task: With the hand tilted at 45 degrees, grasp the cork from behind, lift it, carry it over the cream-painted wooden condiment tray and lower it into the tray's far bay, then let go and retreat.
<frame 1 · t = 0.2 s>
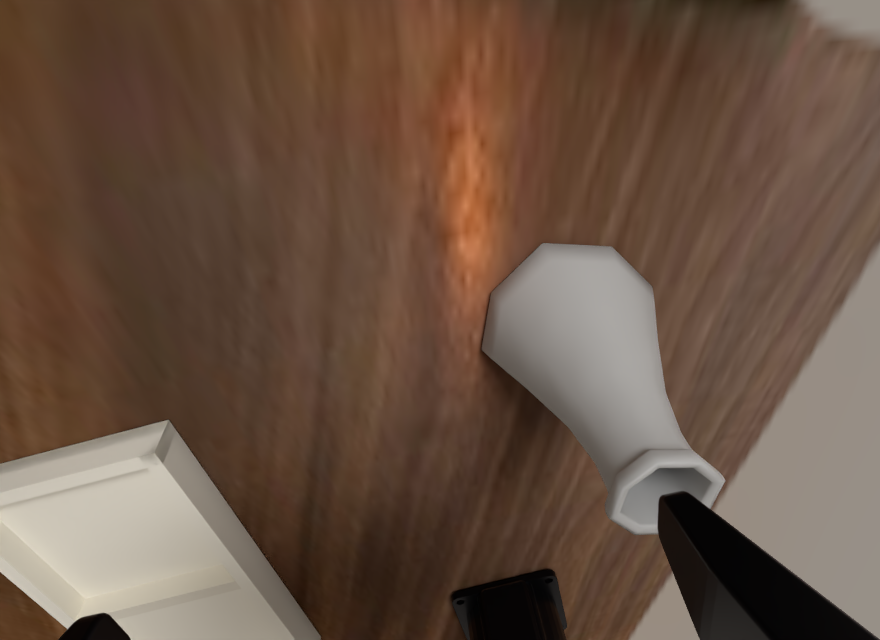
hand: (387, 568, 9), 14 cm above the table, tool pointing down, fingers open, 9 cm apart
condiment tray: (123, 516, 28), on the table
flask: (562, 312, 24), on the table
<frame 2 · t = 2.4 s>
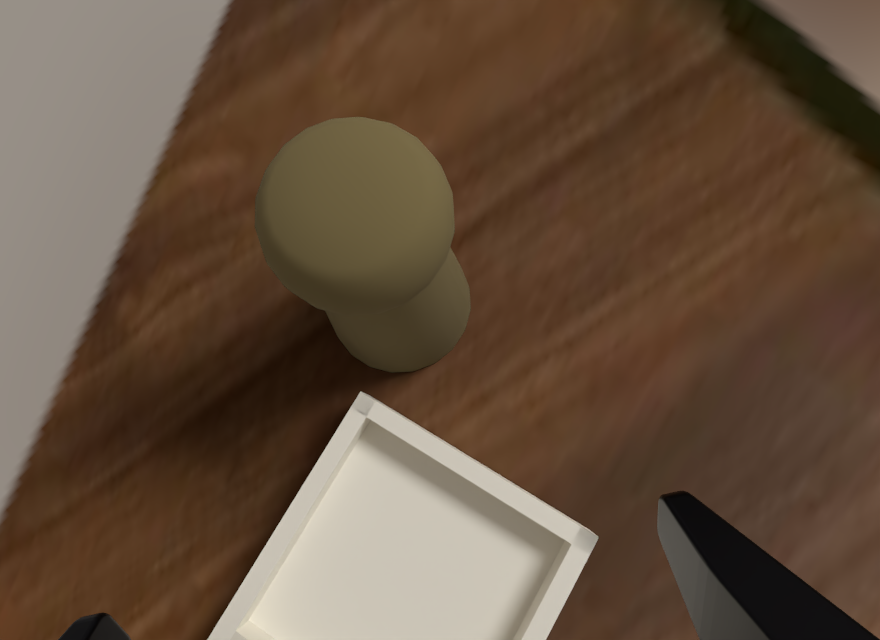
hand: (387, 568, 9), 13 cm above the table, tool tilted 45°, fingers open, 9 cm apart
condiment tray: (409, 574, 22), on the table
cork: (400, 303, 24), on the table
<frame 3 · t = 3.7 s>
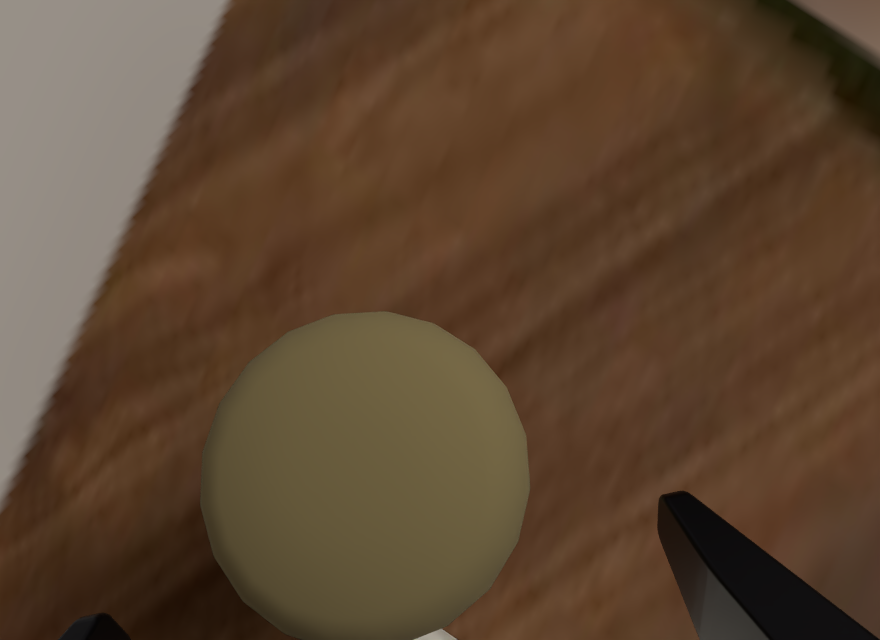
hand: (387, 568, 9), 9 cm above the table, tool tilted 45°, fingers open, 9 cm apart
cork: (420, 457, 18), on the table
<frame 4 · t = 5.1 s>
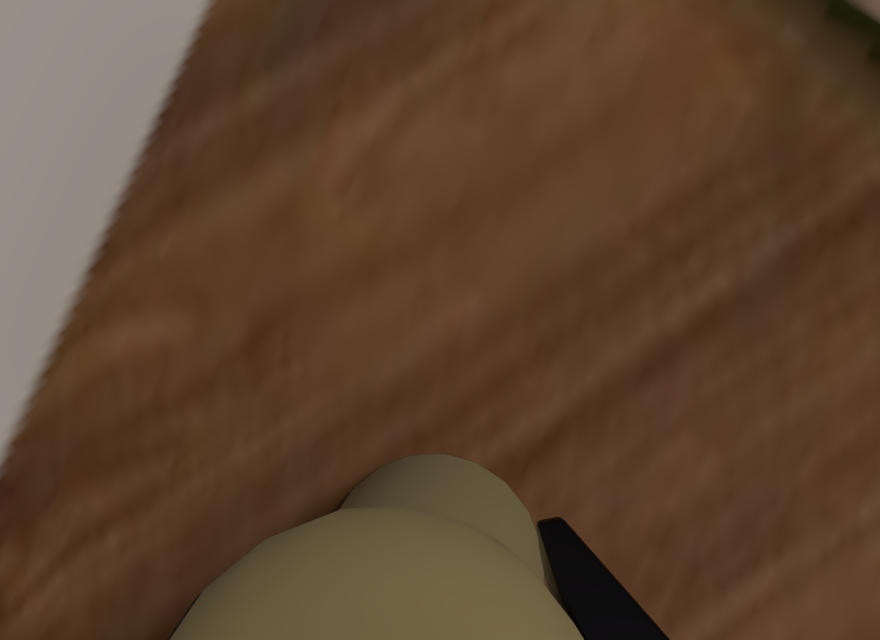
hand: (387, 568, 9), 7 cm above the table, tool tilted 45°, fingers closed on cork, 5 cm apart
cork: (432, 566, 15), on the table, touching gripper
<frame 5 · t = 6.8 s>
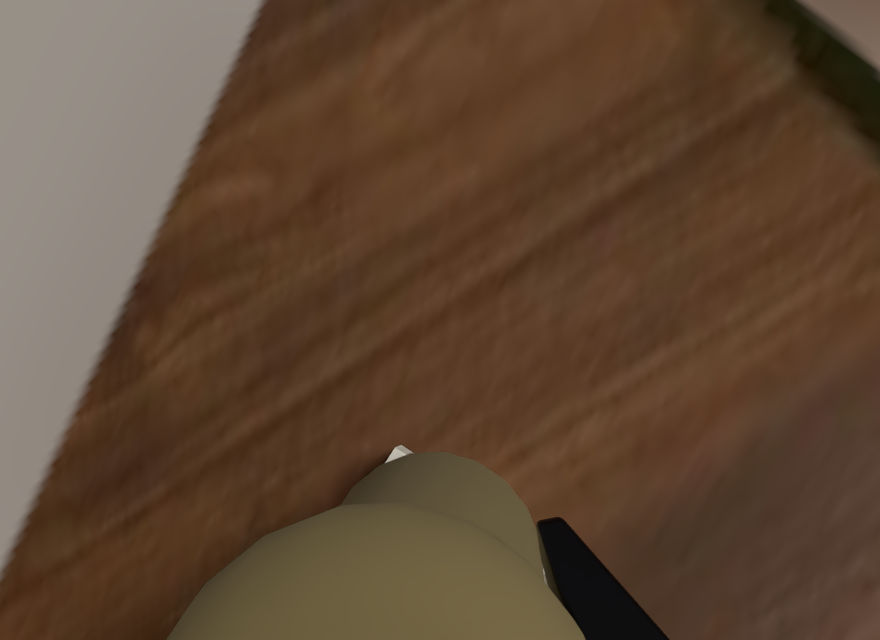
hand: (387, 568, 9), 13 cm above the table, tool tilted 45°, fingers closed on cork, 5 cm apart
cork: (432, 564, 15), point 6 cm above the table, touching gripper
when the fingers open (9 cm above the table, at t = 8.6 s): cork drops 1 cm, resting on condiment tray.
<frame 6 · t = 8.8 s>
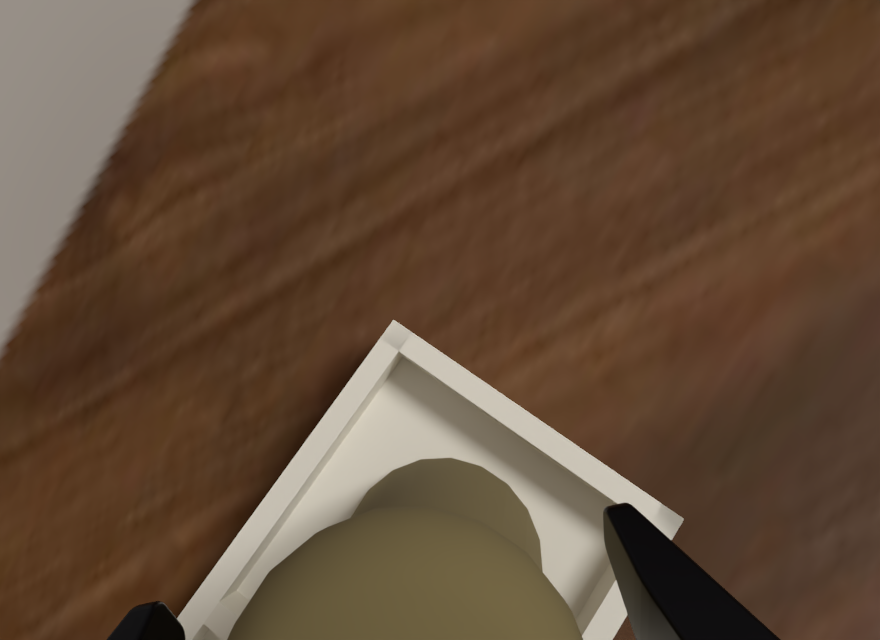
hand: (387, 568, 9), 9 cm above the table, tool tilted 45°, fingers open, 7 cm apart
condiment tray: (437, 549, 18), on the table
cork: (441, 559, 17), point 1 cm above the table, touching condiment tray
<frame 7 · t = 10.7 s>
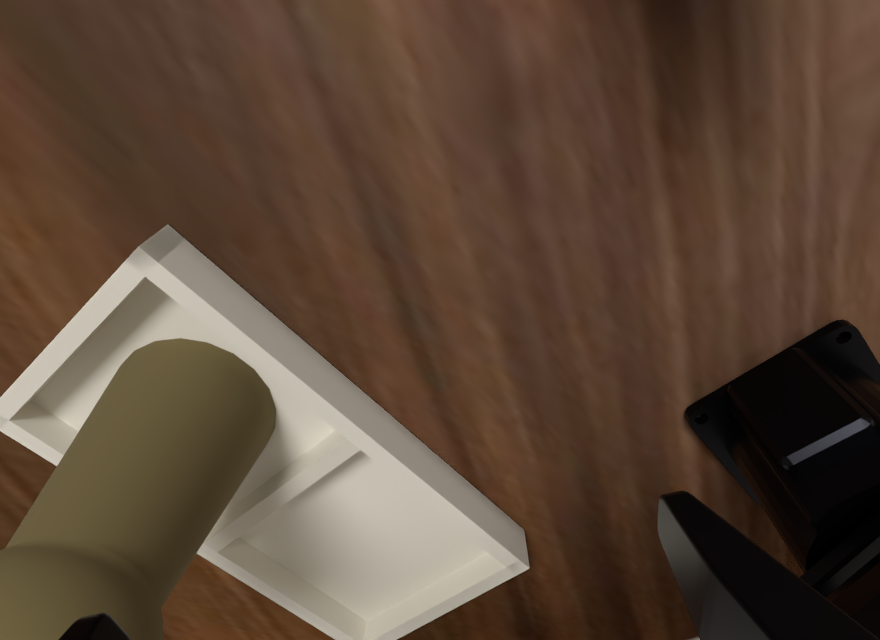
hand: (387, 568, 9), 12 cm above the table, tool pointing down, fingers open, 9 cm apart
condiment tray: (200, 396, 22), on the table
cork: (198, 403, 21), point 1 cm above the table, touching condiment tray
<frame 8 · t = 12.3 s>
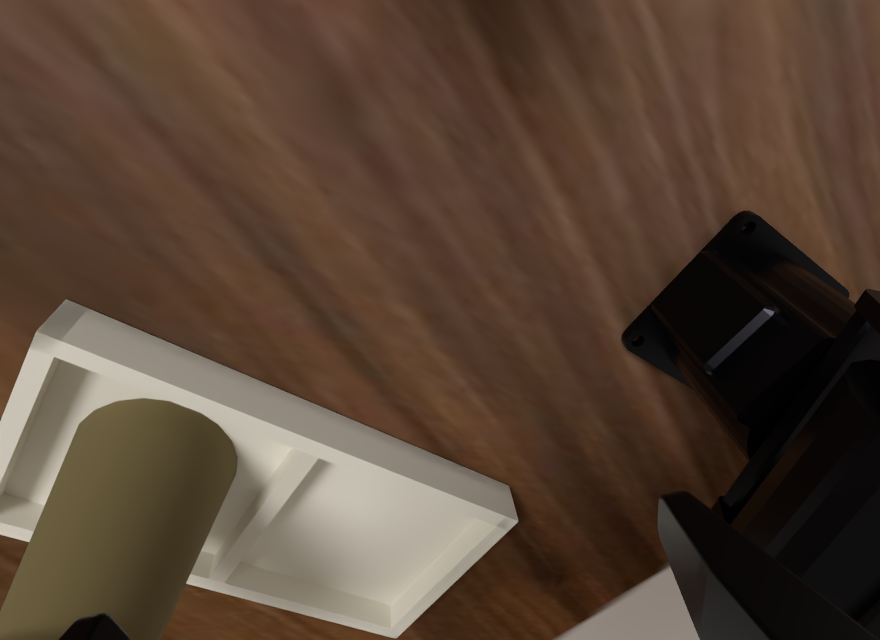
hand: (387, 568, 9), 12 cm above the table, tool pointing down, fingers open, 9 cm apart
condiment tray: (160, 446, 23), on the table
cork: (158, 454, 22), point 1 cm above the table, touching condiment tray
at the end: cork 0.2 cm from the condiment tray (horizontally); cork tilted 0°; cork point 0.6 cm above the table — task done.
